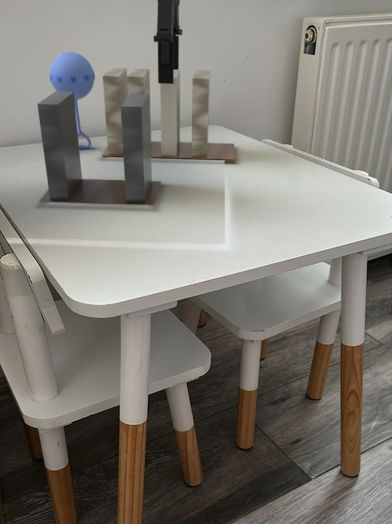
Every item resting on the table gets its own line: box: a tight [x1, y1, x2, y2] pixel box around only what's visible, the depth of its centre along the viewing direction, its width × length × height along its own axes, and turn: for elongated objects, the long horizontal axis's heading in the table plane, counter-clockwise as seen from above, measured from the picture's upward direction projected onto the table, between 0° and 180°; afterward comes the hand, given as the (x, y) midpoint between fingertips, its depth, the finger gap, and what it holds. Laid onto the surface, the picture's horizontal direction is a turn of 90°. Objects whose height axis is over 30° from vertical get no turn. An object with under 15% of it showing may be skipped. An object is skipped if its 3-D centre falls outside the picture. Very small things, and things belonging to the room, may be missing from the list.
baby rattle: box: [48, 51, 96, 150], centre depth 111 cm, size 9×9×18 cm
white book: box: [159, 69, 181, 156], centre depth 110 cm, size 3×10×14 cm, turn 178°
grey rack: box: [36, 91, 162, 206], centre depth 88 cm, size 18×12×15 cm, turn 88°
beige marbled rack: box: [101, 67, 236, 165], centre depth 110 cm, size 26×12×15 cm, turn 88°
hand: (168, 78), depth 106 cm, fingers open, 13 cm apart
